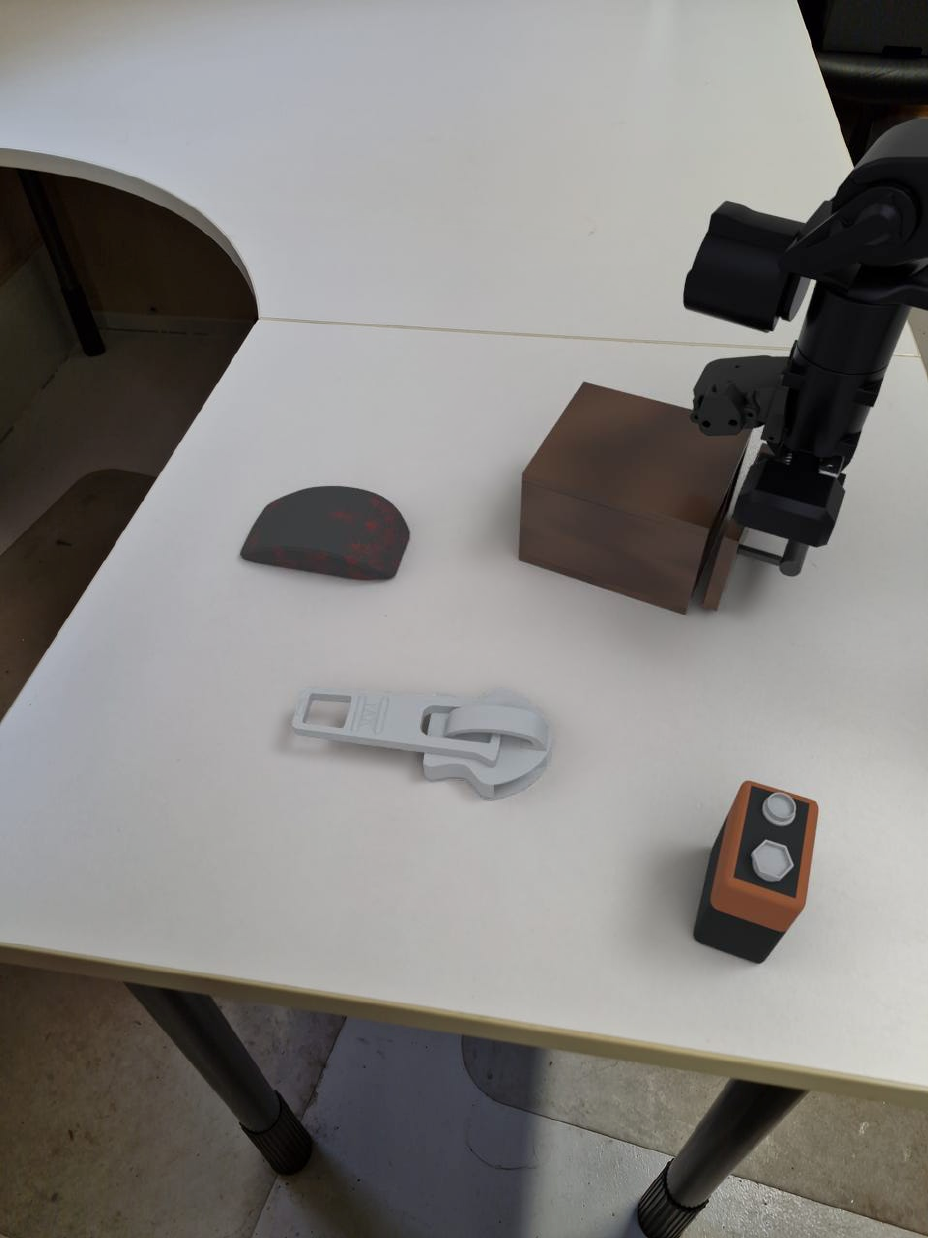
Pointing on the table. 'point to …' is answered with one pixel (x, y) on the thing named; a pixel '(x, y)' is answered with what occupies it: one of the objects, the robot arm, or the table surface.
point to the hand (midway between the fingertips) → (780, 526)
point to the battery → (757, 872)
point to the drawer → (745, 552)
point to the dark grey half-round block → (330, 533)
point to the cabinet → (628, 496)
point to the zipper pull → (445, 734)
